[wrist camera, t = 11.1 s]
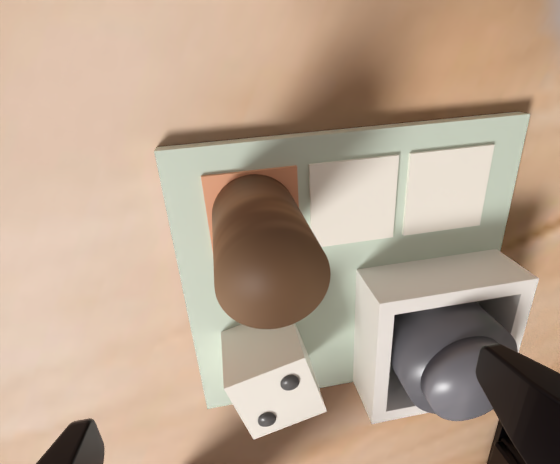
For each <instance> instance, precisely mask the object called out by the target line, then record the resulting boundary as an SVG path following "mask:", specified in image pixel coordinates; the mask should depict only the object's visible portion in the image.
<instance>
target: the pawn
mask: <svg viewBox="0 0 560 464" xmlns="http://www.w3.org/2000/svg"><path fill="white" fill-rule="evenodd" d="M212 233H213V265H214V289H215V294H216V298H217V300H218V303H219V304H220V306H221V308H222V309H223V310H224V312H225V313H226V314H227V315H228V316H229V317H231V318H232V319H233V320H235V321H236V322H238V323H240V324H242V325H245V326H248V327H252V328H256V329H277V328H282V327H286V326H289V325H292V324H294V323H296V322H298V321H300V320H302V319H304V318H305V317H307V316H308V315H309V314H311V313H312V312H313V311H314V310H315V309H316V308H317V307H318V305H319V304H320V303H321V301H322V300H323V299H324V297H325V295H326V293H327V290H328V287H329V283H330V275H331V272H330V265H329V261H328V258H327V256H326V254H325V252H324V251H323V249H322V247H321V245H320V244H319V242H318V240H317V239H316V237H315V235H314V233H313V232H312V230H311V228H310V226H309V225H308V223H307V221H306V220H305V218H304V216H303V214H302V213H301V211H300V209H299V208H298V206H297V204H296V202H295V201H294V199H293V197H292V195H291V194H290V192H289V191H288V189H287V188H286V187H285V186H284V185H283V184H282V183H281V182H279V181H278V180H276V179H274V178H272V177H269V176H265V175H259V174H250V175H245V176H241V177H239V178H236V179H234V180H232V181H231V182H229V183H228V184H227V185H226V186H224V187H223V189H222V190H221V191H220V192H219V194H218V195H217V197H216V199H215V201H214V204H213V208H212Z"/></svg>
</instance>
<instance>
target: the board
mask: <svg viewBox="0 0 560 464" xmlns="http://www.w3.org/2000/svg"><path fill="white" fill-rule="evenodd" d="M529 118H530V114H528V113H523V112H509V113H499V114H488V115H478V116H468V117H458V118H448V119H437V120H427V121H417V122H407V123H397V124H387V125H376V126H366V127H356V128H346V129H336V130H325V131H315V132H305V133H295V134H285V135H275V136H264V137H254V138H244V139H234V140H224V141H213V142H203V143H193V144H183V145H173V146H163V147H156V149H155V151H154V153H155V157H156V162H157V167H158V172H159V177H160V182H161V186H162V191H163V196H164V201H165V206H166V211H167V215H168V220H169V225H170V230H171V235H172V240H173V244H174V249H175V254H176V259H177V264H178V269H179V274H180V278H181V283H182V288H183V293H184V298H185V303H186V307H187V312H188V317H189V322H190V327H191V332H192V336H193V341H194V346H195V351H196V356H197V361H198V365H199V370H200V375H201V380H202V385H203V390H204V395H205V399H206V404H207V409H210V408H215V407H221V406H226V405H232V402H231V400H230V399H229V397H228V395H227V394H226V392H225V390H224V384H223V364H222V344H221V332H222V331H225V330H228V329H230V328H233V327H235V326H238V325H241V324H240V323H238V322H236V321H235V320H233V319H232V318H231V317H229V316H228V315H227V314H226V313H225V312H224V310H223V309H222V308H221V306H220V304H219V303H218V300H217V298H216V294H215V289H214V265H213V233H212V208H213V204H214V201H215V199H216V197H217V195H218V194H219V192H220V191H221V190H222V189H223V187H224V186H226V185H227V184H228V183H229V182H231V181H232V180H234V179H236V178H239V177H241V176H245V175H250V174H259V175H265V176H269V177H272V178H274V179H276V180H278V181H279V182H281V183H282V184H283V185H284V186H285V187H286V188H287V189H288V191H289V192H290V194H291V195H292V197H293V199H294V201H295V202H296V204H297V206H298V208H299V209H300V211H301V213H302V214H303V216H304V218H305V220H306V221H307V223H308V225H309V226H310V228H311V230H312V232H313V233H314V235H315V237H316V239H317V240H318V242H319V244H320V245H321V247H322V249H323V251H324V252H325V254H326V256H327V258H328V261H329V265H330V272H331V275H330V283H329V287H328V290H327V293H326V295H325V297H324V299H323V300H322V301H321V303H320V304H319V305H318V307H317V308H316V309H315V310H314V311H313V312H312V313H311V314H309V315H308V316H307V317H305V318H304V319H302V320H300V321H298V322H296V323H295V324H296V326H297V329H298V331H299V334H300V336H301V339H302V341H303V343H304V346H305V348H306V351H307V353H308V356H309V359H310V362H311V365H312V368H313V371H314V374H315V377H316V380H317V383H318V386H319V388H323V387H329V386H334V385H339V384H345V383H350V382H354V385H355V387H356V389H357V391H358V394H359V396H360V398H361V400H362V403H363V405H364V407H365V410H366V412H367V414H368V416H369V419H370V421H371V423H372V424H375V423H380V422H385V421H390V420H395V419H400V418H405V417H410V416H414V415H419V414H424V413H429V412H426V411H423V410H421V409H419V408H418V407H417V406H415V405H414V403H413V402H412V401H411V399H410V398H409V396H408V394H407V392H406V391H405V389H404V387H403V386H402V384H401V382H400V380H399V379H398V377H397V375H396V374H395V372H394V370H393V368H392V367H391V365H390V361H391V350H392V338H393V327H394V315H397V314H403V313H409V312H415V311H421V310H427V309H433V308H439V307H445V306H451V305H457V304H463V303H469V302H475V301H476V302H477V303H478V304H479V305H480V306H481V307H482V308H483V309H485V310H486V311H487V312H488V313H489V314H490V315H491V316H492V317H493V318H494V319H495V320H496V321H497V322H498V323H499V324H501V325H502V326H503V327H504V328H505V329H506V330H507V331H508V332H509V333H510V334H511V335H512V336H513V338H514V339H515V341H516V344H517V349H518V352H519V349H520V345H521V342H522V338H523V334H524V331H525V327H526V324H527V320H528V316H529V313H530V309H531V306H532V302H533V298H534V295H535V291H536V288H537V284H538V281H539V278H538V277H536V276H535V275H533V274H532V273H531V272H529V271H528V270H526V269H525V268H523V267H522V266H520V265H519V264H518V263H516V262H515V261H513V260H512V259H510V258H509V257H507V256H506V255H504V254H503V253H502V252H500V250H501V246H502V241H503V237H504V232H505V228H506V223H507V218H508V214H509V209H510V205H511V200H512V195H513V191H514V186H515V182H516V177H517V173H518V168H519V163H520V159H521V154H522V150H523V145H524V140H525V136H526V131H527V127H528V122H529Z"/></svg>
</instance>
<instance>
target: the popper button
mask: <svg viewBox="0 0 560 464" xmlns="http://www.w3.org/2000/svg"><path fill="white" fill-rule="evenodd" d="M495 343H498V344H502V345H504V346H506V347H508V348H510V349H512V350H514V351H516V352H518V349H517V344H516V341H515V339H514V338H513V336H512V335H511V334H510V333H509V332H508V331H507V330H506V329H505V328H504V327H503V326H502V325H501V324H499V323H498V322H497V321H496V320H495V319H494V318H493V317H492V316H491V315H490V314H489V313H488V312H487V311H486V310H485V309H483V308H482V307H481V306H480V305H479V304H478V303H477V302H476V301H475V302H469V303H463V304H457V305H451V306H445V307H439V308H433V309H427V310H421V311H415V312H409V313H403V314H397V315H394V327H393V338H392V350H391V361H390V365H391V367H392V368H393V370H394V372H395V374H396V375H397V377H398V379H399V380H400V382H401V384H402V386H403V387H404V389H405V391H406V392H407V394H408V396H409V398H410V399H411V401H412V402H413V403H414V405H415V406H417V407H418V408H419V409H421V410H423V411H426V412H429V413H434V414H437V415H438V416H440V417H441V418H443V419H446V420H451V421H463V420H469V419H473V418H476V417H479V416H481V415H484V414H486V413H487V412H489V411H491V410H493V407H492V406H491V404H490V402H489V400H488V398H487V397H486V395H485V393H484V391H483V389H482V387H481V386H480V384H479V382H478V380H477V377H476V372H475V370H476V365H477V360H478V356H479V352H480V349H481V347H482V346H484V345H489V344H495Z"/></svg>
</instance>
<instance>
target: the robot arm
mask: <svg viewBox="0 0 560 464" xmlns="http://www.w3.org/2000/svg"><path fill="white" fill-rule="evenodd" d="M475 372H476V377H477V380H478V382H479V384H480V386H481V387H482V389H483V391H484V393H485V395H486V397H487V398H488V400H489V402H490V404H491V406H492V407H493V409H494V411H495V413H496V415H497V416H498V418H499V420H500V422H499V424H498V427H497V431H496V434H495V438H494V441H493V445H492V449H491V452H490V456H489V459H488V463H487V464H560V373H558V372H556V371H554V370H552V369H550V368H548V367H546V366H544V365H542V364H540V363H538V362H536V361H534V360H532V359H530V358H528V357H526V356H524V355H522V354H520V353H518V352H516V351H514V350H512V349H510V348H508V347H506V346H504V345H502V344H498V343H495V344H489V345H484V346H482V347H481V349H480V352H479V356H478V360H477V365H476V370H475ZM103 461H104V443H103V440H102V438H101V435H100V433H99V430H98V428H97V425H96V423H95V421H94V420H93V419H84V420H78V421H74V422H72V423H71V424H69V425H68V427H67V428H66V429H65V430H64V431H63V432H62V434H61V435H60V436H59V437H58V438H57V440H56V441H55V442H54V443H53V444H52V445H51V447H50V448H49V449H48V450H47V451H46V453H45V454H44V455H43V456H42V457H41V458H40V460H39V461H38V462H37V463H36V464H103Z"/></svg>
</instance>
